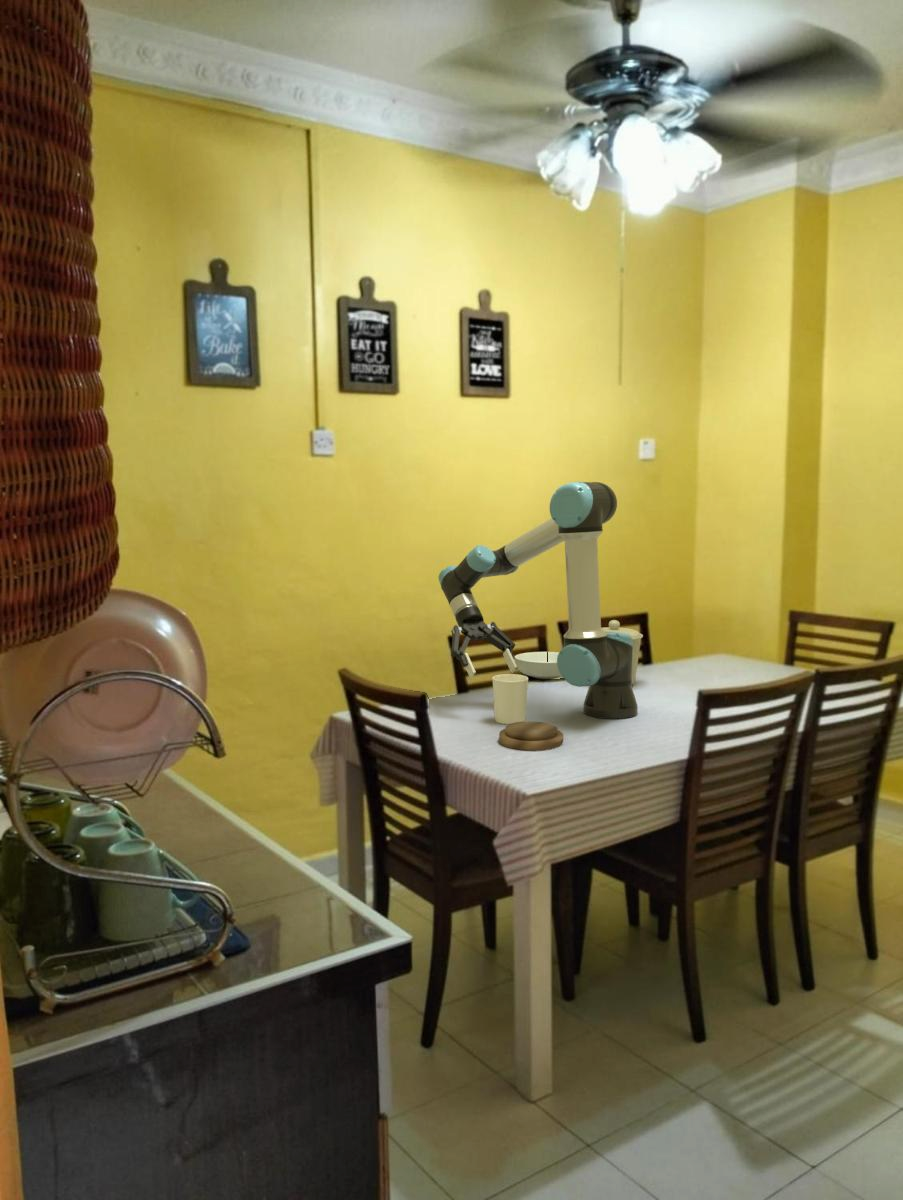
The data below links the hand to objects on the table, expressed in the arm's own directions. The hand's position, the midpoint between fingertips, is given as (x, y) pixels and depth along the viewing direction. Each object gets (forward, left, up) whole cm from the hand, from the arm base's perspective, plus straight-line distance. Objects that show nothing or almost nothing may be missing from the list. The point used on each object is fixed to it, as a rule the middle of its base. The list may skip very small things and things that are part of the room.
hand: (493, 672), depth 258 cm
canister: (-24, -49, -12) cm, 56 cm away
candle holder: (-6, +5, -12) cm, 14 cm away
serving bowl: (0, -55, -12) cm, 57 cm away
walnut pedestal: (-17, +23, -12) cm, 31 cm away
